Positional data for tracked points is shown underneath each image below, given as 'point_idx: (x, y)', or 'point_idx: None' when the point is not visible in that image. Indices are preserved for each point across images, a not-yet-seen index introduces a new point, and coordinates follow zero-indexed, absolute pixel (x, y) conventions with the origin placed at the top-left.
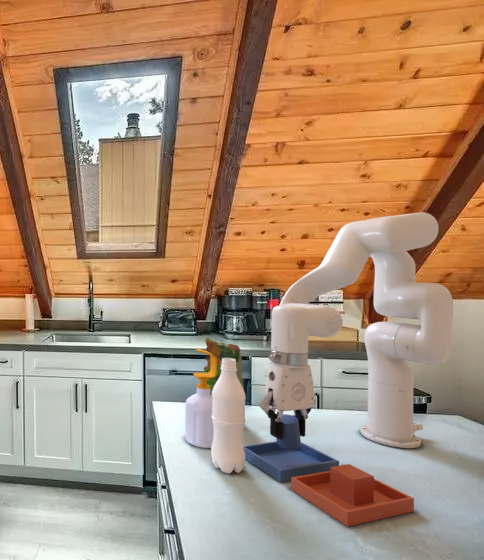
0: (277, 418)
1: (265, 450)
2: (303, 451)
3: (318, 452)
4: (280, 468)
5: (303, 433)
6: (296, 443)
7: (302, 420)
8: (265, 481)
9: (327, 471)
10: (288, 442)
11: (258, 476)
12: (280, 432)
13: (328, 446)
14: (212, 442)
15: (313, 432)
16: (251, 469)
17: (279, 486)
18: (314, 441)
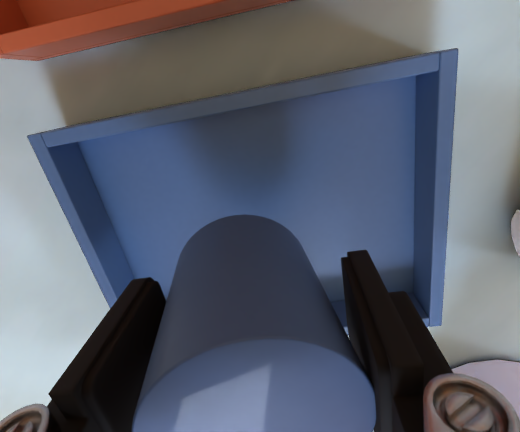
0: (516, 428)
1: None
2: None
3: (90, 236)
4: (340, 166)
5: (140, 289)
6: (233, 229)
7: (87, 392)
8: (495, 70)
9: (165, 8)
10: (286, 242)
11: (488, 122)
12: (381, 285)
13: (5, 323)
14: (507, 378)
15: (13, 409)
16: (465, 188)
17: (464, 10)
18: (41, 359)
